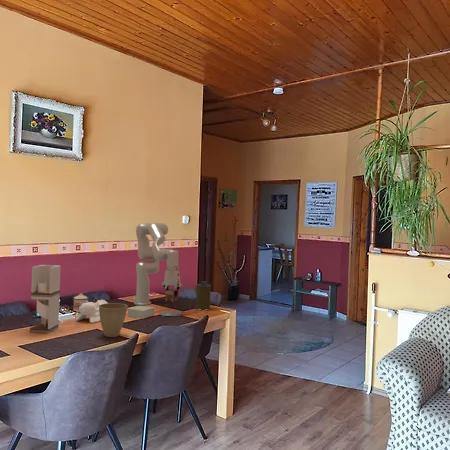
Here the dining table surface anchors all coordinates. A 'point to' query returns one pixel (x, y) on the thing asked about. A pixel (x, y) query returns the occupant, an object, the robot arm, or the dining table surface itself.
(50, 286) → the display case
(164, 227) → the robot arm
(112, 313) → the plant pot
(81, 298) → the lidded ceramic jar
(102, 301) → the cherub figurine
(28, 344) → the dining table surface
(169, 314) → the trivet
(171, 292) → the stool
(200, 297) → the canister
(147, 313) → the block
